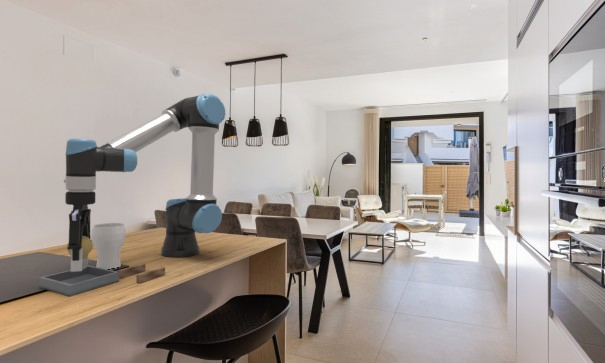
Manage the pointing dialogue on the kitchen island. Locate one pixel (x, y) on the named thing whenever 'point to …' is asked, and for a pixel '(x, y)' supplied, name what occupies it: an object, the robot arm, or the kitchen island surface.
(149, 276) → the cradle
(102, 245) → the cup
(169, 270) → the kitchen island surface
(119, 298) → the kitchen island surface
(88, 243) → the light bulb
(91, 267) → the tray
